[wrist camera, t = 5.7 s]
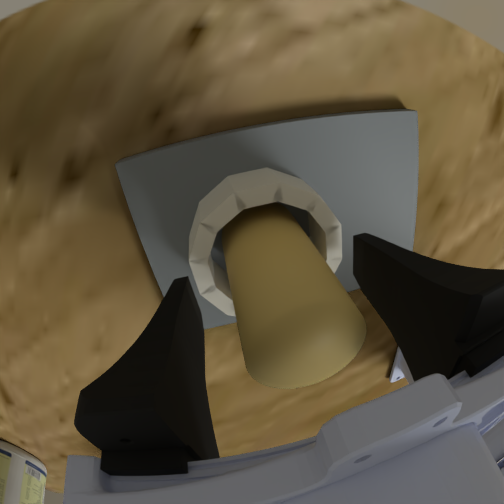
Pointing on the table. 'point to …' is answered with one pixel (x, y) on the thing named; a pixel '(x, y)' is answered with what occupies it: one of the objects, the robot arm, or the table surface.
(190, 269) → the holder
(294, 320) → the peg
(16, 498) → the supplement tub
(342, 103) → the table surface
